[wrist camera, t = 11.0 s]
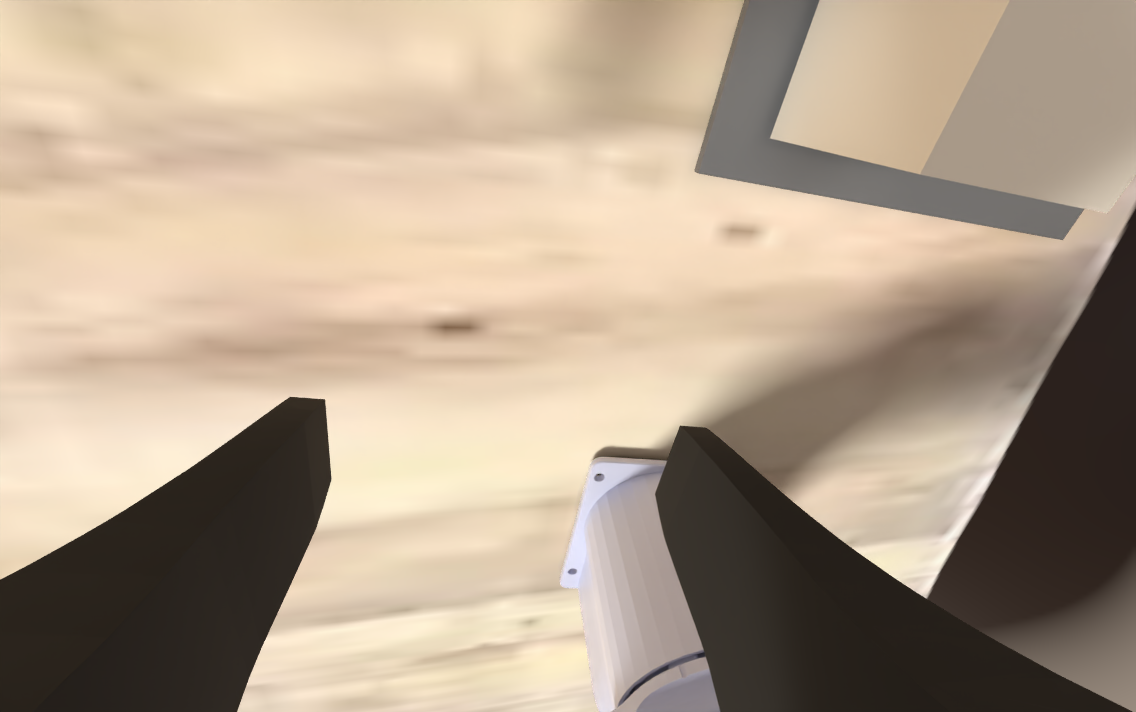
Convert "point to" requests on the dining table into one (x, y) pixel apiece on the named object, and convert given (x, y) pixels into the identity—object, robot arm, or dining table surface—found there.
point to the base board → (748, 153)
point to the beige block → (974, 93)
